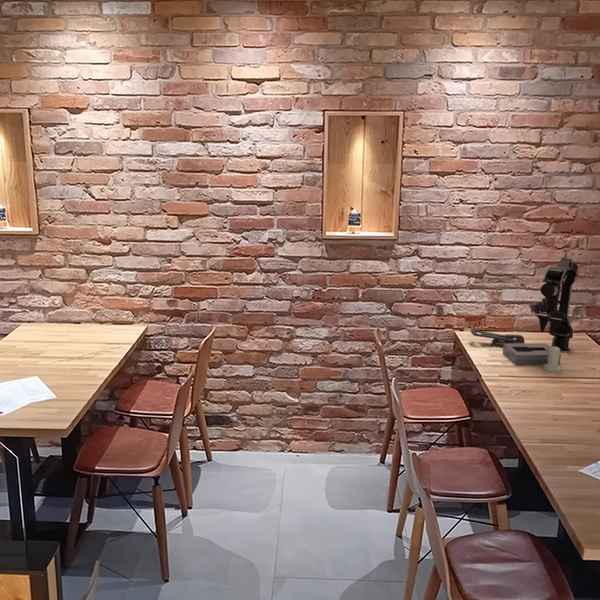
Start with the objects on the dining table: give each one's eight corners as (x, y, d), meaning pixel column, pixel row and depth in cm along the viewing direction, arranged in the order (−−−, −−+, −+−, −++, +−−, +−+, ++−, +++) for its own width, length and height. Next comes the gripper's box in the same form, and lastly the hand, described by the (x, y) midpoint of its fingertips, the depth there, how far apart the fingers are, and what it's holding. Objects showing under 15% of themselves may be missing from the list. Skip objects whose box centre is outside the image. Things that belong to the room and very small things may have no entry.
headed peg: (555, 367, 314) (558, 345, 311) (561, 372, 308) (563, 349, 306) (543, 367, 313) (546, 345, 311) (548, 372, 308) (551, 349, 305)
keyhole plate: (544, 353, 332) (546, 343, 331) (559, 364, 317) (561, 354, 316) (502, 353, 331) (503, 343, 329) (515, 365, 315) (516, 355, 314)
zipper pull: (469, 328, 346) (522, 330, 344) (468, 341, 347) (521, 343, 346) (472, 333, 337) (527, 335, 336) (471, 347, 339) (525, 349, 337)
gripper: (525, 293, 317) (519, 328, 318) (542, 296, 298) (536, 333, 299) (549, 296, 318) (544, 331, 319) (568, 299, 299) (562, 337, 300)
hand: (546, 333), depth 309 cm, fingers open, 9 cm apart
